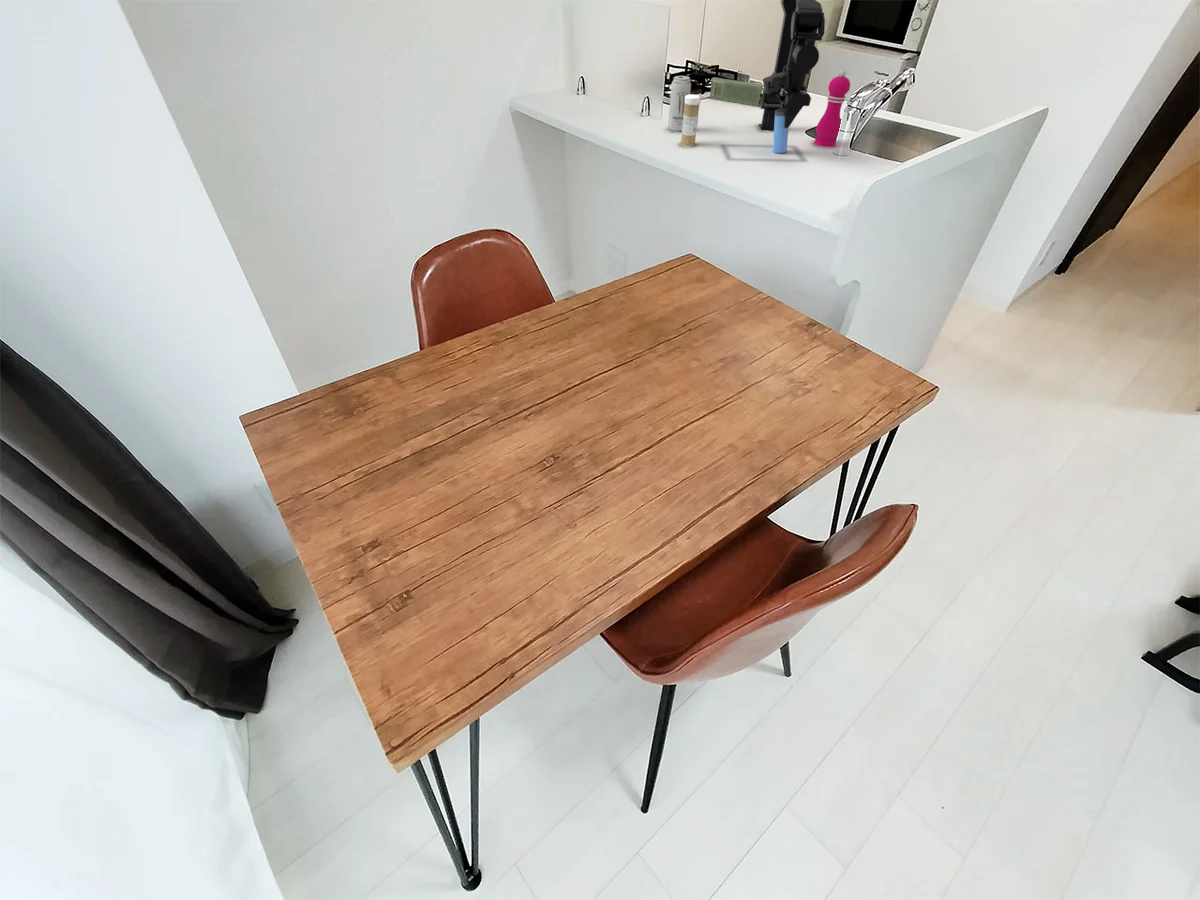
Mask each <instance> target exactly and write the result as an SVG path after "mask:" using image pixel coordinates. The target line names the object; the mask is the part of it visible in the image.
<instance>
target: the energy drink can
mask: <svg viewBox="0 0 1200 900" xmlns="http://www.w3.org/2000/svg"><path fill="white" fill-rule="evenodd" d="M690 79H691V78H690V76H688V75H676V76H674V77H673V80H672V82H671V86H670V88H671V89H670V97H669V111H668V121H667V128H668V130H669V132H671V133H674V134H675V133H679V132H681V133H682V126H683V118H684V109H685V96H686V95H690V94H691V88H692V83H691V80H690Z"/></svg>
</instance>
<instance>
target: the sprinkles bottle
mask: <svg viewBox="0 0 1200 900" xmlns="http://www.w3.org/2000/svg"><path fill="white" fill-rule="evenodd" d="M701 98H702V97H701V95H699V94H691V93H690V95H686V96H685V109H684V118H683V126H682V132H681V138H680V139H681V140H680V145H681V146H683V147H694V146H696V137H697V131H698V122H699V111H700V104H701V100H702V99H701Z"/></svg>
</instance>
